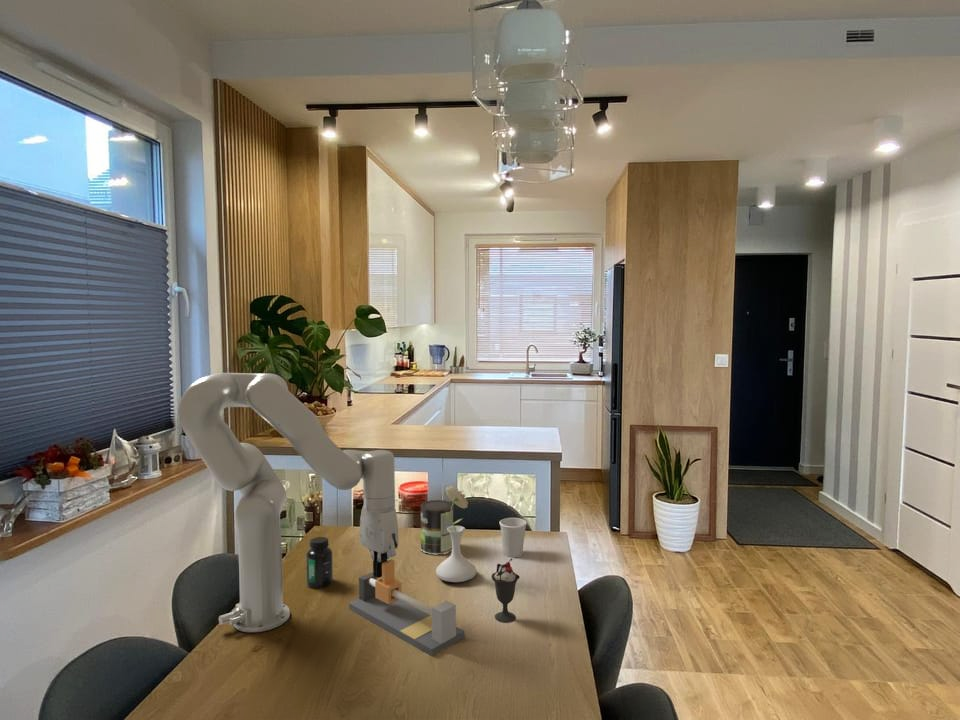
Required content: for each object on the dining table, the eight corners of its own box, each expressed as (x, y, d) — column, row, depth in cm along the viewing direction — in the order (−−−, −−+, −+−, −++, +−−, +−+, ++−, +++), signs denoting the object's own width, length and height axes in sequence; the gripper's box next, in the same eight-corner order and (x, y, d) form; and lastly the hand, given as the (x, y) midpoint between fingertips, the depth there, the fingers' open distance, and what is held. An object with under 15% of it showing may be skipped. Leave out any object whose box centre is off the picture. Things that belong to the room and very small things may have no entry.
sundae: (517, 625, 134) (517, 563, 134) (489, 622, 136) (489, 560, 135) (521, 612, 141) (521, 552, 140) (494, 609, 142) (494, 549, 141)
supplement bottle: (312, 591, 152) (311, 546, 151) (303, 581, 157) (302, 538, 157) (336, 584, 156) (336, 540, 155) (327, 575, 161) (326, 533, 161)
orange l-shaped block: (375, 597, 140) (375, 561, 139) (388, 592, 143) (388, 556, 142) (388, 604, 136) (388, 567, 136) (401, 598, 139) (401, 562, 139)
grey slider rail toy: (349, 609, 142) (348, 575, 142) (381, 595, 150) (381, 563, 149) (431, 656, 122) (431, 617, 122) (464, 637, 129) (464, 600, 129)
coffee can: (424, 557, 174) (424, 511, 173) (417, 544, 184) (417, 501, 183) (457, 553, 177) (457, 508, 176) (449, 541, 187) (448, 498, 186)
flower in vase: (482, 582, 157) (482, 492, 156) (443, 589, 153) (442, 496, 151) (466, 564, 169) (466, 480, 168) (428, 570, 165) (428, 484, 164)
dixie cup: (527, 549, 180) (527, 518, 180) (525, 560, 172) (525, 527, 171) (500, 548, 181) (501, 516, 181) (497, 558, 173) (497, 526, 173)
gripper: (348, 499, 143) (349, 571, 144) (386, 512, 133) (387, 589, 134) (372, 492, 148) (373, 562, 149) (411, 504, 138) (412, 579, 139)
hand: (380, 575), depth 142 cm, fingers closed
